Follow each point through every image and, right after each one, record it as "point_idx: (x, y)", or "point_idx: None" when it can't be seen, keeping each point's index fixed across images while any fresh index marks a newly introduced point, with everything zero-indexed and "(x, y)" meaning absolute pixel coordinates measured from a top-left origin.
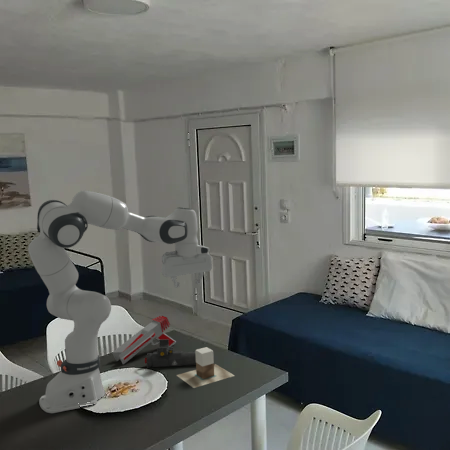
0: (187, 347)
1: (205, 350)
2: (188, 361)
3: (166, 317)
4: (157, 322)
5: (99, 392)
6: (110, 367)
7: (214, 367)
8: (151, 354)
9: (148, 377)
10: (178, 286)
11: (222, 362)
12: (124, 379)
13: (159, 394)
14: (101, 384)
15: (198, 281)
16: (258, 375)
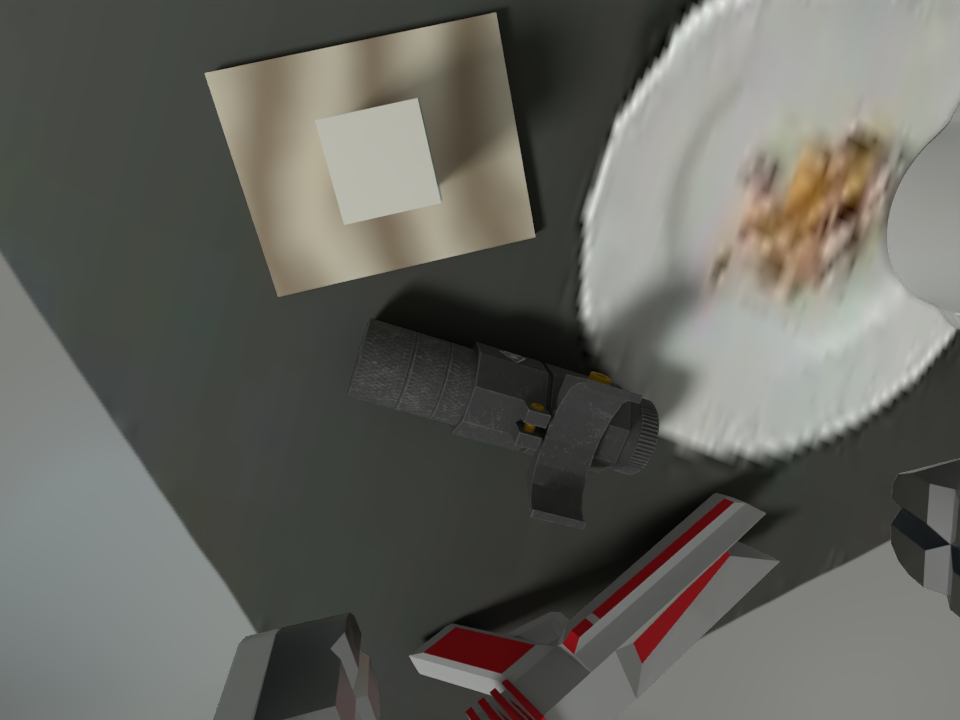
0: (364, 596)
1: (372, 154)
2: (437, 340)
3: None
4: None
5: (956, 146)
6: (774, 480)
7: (298, 251)
8: (632, 439)
9: (658, 298)
10: (942, 468)
11: (226, 336)
12: (764, 321)
13: (674, 60)
14: (951, 190)
15: (320, 665)
16: (41, 47)
